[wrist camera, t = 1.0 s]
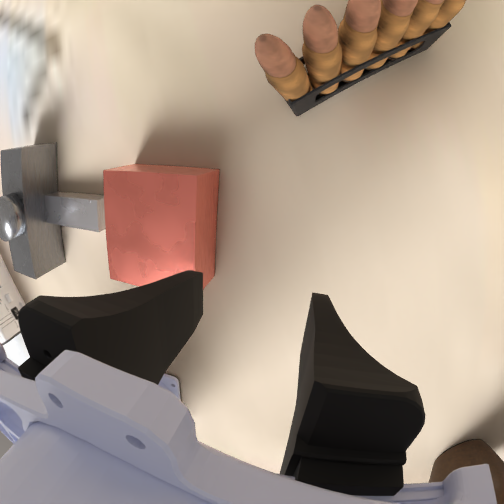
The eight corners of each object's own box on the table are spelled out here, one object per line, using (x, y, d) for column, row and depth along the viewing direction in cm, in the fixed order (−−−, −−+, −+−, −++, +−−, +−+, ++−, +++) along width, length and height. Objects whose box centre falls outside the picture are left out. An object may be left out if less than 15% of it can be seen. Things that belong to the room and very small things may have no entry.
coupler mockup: (116, 275, 26) (73, 306, 20) (42, 255, 28) (3, 276, 23) (110, 139, 22) (56, 144, 16) (33, 145, 24) (-13, 153, 18)
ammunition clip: (413, 25, 14) (480, -67, 3) (428, 48, 14) (515, -27, 3) (280, 93, 18) (216, 34, 7) (296, 117, 18) (251, 81, 7)
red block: (214, 275, 23) (194, 299, 20) (137, 260, 25) (110, 278, 21) (219, 169, 20) (197, 175, 17) (134, 163, 22) (103, 170, 18)
